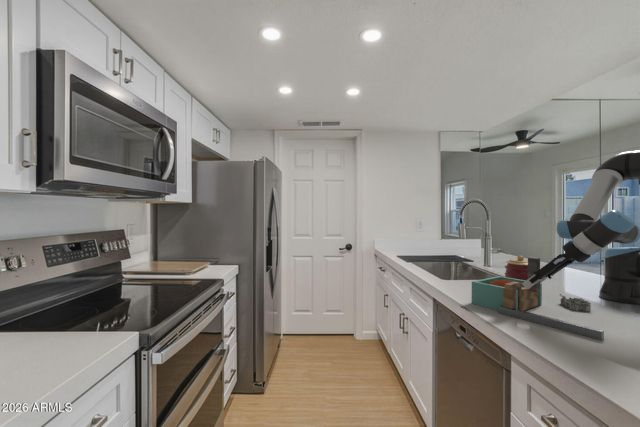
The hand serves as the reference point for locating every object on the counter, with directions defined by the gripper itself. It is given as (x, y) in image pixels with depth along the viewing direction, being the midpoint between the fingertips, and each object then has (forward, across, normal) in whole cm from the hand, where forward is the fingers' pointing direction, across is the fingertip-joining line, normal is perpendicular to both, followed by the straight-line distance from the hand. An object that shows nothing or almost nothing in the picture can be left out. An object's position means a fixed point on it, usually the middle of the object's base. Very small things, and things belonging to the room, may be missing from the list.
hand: (528, 285), depth 120 cm
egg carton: (+1, +20, -13) cm, 24 cm away
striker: (+6, -3, -7) cm, 10 cm away
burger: (+13, 0, -1) cm, 13 cm away
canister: (+16, +26, +3) cm, 31 cm away
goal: (+12, 0, -1) cm, 12 cm away
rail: (-1, -13, -14) cm, 20 cm away
